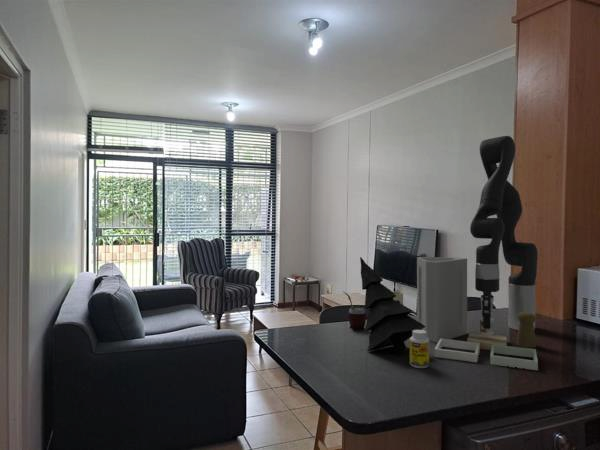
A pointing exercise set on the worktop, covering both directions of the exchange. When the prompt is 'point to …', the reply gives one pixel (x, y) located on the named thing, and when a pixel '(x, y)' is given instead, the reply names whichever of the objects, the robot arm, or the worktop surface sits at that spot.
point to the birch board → (487, 340)
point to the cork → (526, 330)
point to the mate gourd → (356, 317)
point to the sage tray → (514, 361)
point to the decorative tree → (385, 314)
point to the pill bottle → (491, 330)
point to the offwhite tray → (457, 354)
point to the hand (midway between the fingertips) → (487, 326)
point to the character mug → (398, 297)
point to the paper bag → (442, 296)
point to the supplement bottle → (419, 349)
